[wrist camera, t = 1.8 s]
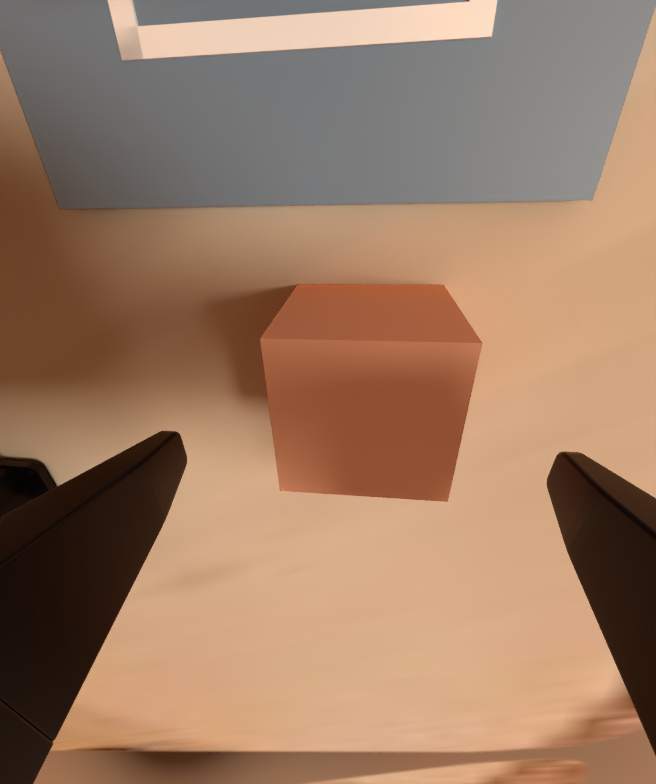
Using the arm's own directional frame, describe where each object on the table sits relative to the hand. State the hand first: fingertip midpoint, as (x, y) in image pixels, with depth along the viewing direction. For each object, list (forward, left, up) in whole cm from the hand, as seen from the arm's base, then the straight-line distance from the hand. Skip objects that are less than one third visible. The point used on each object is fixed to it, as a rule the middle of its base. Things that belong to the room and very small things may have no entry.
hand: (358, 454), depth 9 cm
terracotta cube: (0, 0, -6) cm, 6 cm away
